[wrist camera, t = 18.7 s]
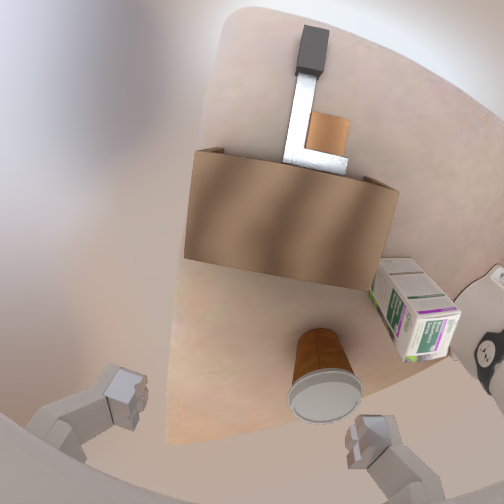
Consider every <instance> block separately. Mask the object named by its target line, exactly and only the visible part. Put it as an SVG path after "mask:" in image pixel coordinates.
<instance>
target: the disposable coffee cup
mask: <svg viewBox="0 0 504 504" xmlns="http://www.w3.org/2000/svg"><path fill="white" fill-rule="evenodd" d="M362 395H363V386H362V383H361V381H360V380H359V379H358V378H357V377H356V376H355V374H354V372H353V370H352V368H351V365H350V363H349V361H348V359H347V357H346V355H345V352H344V350H343V348H342V346H341V344H340V341H339V339H338V337H337V335H336V334H335V333H334V332H333V331H331V330H328V329H323V328H319V329H313V330H310V331H308V332H306V333H305V334H304V335H303V336H302V337H301V338H300V340H299V342H298V347H297V354H296V361H295V368H294V374H293V381H292V387H291V389H290V390H289V392H288V395H287V403H288V406H289V407H290V409H291V410H292V413H293V414H294V416H295V417H296V418H298V419H299V420H301V421H304V422H306V423H311V424H329V423H334V422H337V421H340V420H342V419H344V418H346V417H348V416H350V415H351V414H352V413H353V412H354V411H355V410H356V409H357V408H358V406H359V404H360V402H361V397H362Z"/></svg>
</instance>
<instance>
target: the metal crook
mask: <svg viewBox="0 0 504 504" xmlns="http://www.w3.org/2000/svg"><path fill="white" fill-rule="evenodd" d="M329 31H330V30H326V29H322V28H317V27H312V26H307V25H304V29H303V34H302V38H301V44H300V50H299V56H298V61H297V67H296V73H295V76H298V77H297V83H296V88H295V94H294V100H293V106H292V111H291V117H290V123H289V128H288V134H287V139H286V145H285V150H284V156H283V162H284V163H289V164H293V165H298V166H303V167H307V168H312V169H317V170H321V171H326V172H330V173H335V174H339V175H343V176H345V173H346V168H347V164H348V158H345V157H341V156H337V155H333V154H329V153H324V152H320V151H315V150H311V149H306V148H304V146H305V140H306V135H307V129H308V124H309V118H310V113H311V107H312V101H313V96H314V90H315V84H316V80H318V78H319V77H320V75H321V74H322V72H323V70H324V64H325V57H326V51H327V44H328V38H329Z"/></svg>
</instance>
